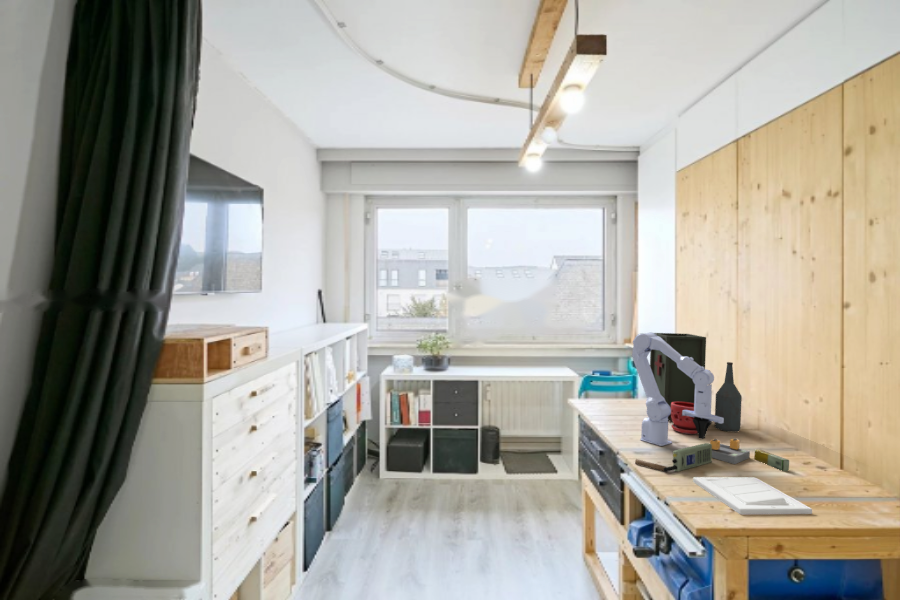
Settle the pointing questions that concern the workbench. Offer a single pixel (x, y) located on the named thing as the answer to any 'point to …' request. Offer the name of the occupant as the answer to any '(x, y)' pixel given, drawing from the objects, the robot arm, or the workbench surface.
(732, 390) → the bottle
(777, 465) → the medication box
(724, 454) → the box
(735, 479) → the vent cover
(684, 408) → the plant pot
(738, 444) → the breaker
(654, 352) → the tall dark green cabinet
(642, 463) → the wooden dowel
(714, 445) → the breaker
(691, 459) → the handheld radio
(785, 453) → the workbench surface
